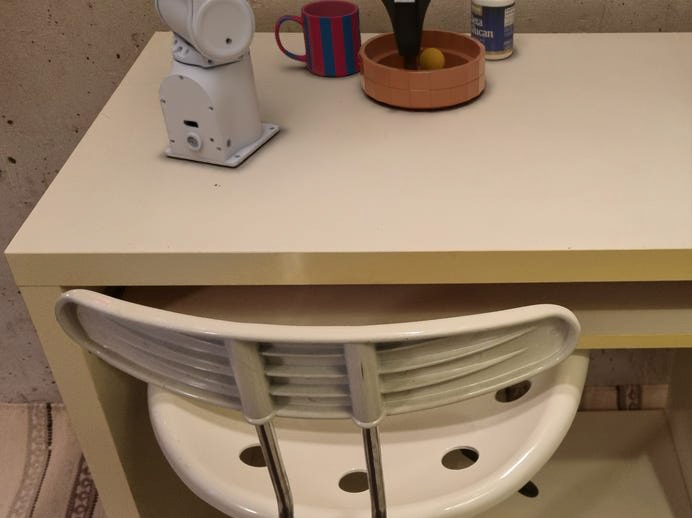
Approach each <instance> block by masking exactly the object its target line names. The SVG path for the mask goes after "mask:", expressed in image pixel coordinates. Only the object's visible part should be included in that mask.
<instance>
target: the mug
mask: <svg viewBox="0 0 692 518" xmlns="http://www.w3.org/2000/svg"><path fill="white" fill-rule="evenodd" d="M360 20H361V19H360V8H359V6H358V5H357V4H356V3H353V2H350V1H346V0H318V1H312V2H309V3H307V4H304V5H303V6H302V7H301V8H300V16H298V15H293V14H286V15H281V16H280V17H279V18H278V19H277V20H276V23H275V25H274V38H275V42H276V45H277V47H278V49H279V50H280V51H281V52H282V54H284V55H285V56H286V57H287V58H288V59H289V58H290V59H291V60H294V61H297V62H302V63H306V65H307V69H308V71H309V72H310V73H312V74H313V75H316V76H321V77H328V78H338V77H339V78H341V77H347V76H351V75H354V74H356V73H358V72H360V61H359V50H360V47H361V45H362V34H361V33H362V32H361V21H360ZM286 21H293V22H296V23H297V24H299V26H301V28H302V33H303V41H304V50H305V54H301V55H300V54H297V53H296V54H295V53H293V52H291V51H289V50H287V49H286V48H285V47H284V46H283V43H282V41H281V38H280V28H281V25H282V24H283V23H284V22H286Z"/></svg>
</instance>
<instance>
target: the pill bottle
mask: <svg viewBox="0 0 692 518" xmlns="http://www.w3.org/2000/svg"><path fill="white" fill-rule="evenodd" d="M515 9H516V0H470V36H471V37H473V38H475V39H477V40H479V41H480V42H481V43H482V44H483V45H484V46H485V60H491V61H493V60H495V61H496V60H503V59H506V58H508V57H510V56H511V55H512V54H513V50H514V31H515V11H516V10H515Z"/></svg>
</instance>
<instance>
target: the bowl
mask: <svg viewBox="0 0 692 518" xmlns="http://www.w3.org/2000/svg"><path fill="white" fill-rule="evenodd" d="M428 48H435V49H438V50H439V51H440V52H441V53H442V54H443V56H444V59H445V65H444V68H443V69H439V70H429V71H425V70H422V69H421V67H420V63H419V59H420V56H421V54H422V53H423V51H425V50H426V49H428ZM417 57H418V70H405V69H404V66H403V56H400V55H399V52H398V49H397V45H396V41H395V36H394V31H393V30H392V31H387V32H384V33H380V34H377V35H375V36H372V37H370V38H368V39H367V40H365V41H364V42H363V43H361V47H360V50H359V61H360V71H359V73H360V85H361V88H362V89H363V91H364V93H365V94H366V95H367V96H369V97H371V98H372V99H374V100H376V101H378V102H381V103H384V104H386V105H389V106H392V107H397V108H401V109H408V110H409V109H410V110H437V109H445V108H450V107H453V106H457V105H460V104H463V103H465V102H468V101H470V100H471V99H474V98H476V97H477V96H479V95H480V94H481V93H482V91H483V90H484V89H485V87H486V59H485V46H484V45H483V44H482V43H481V42H480V41H479V40H477V39H475V38H473V37H471V35H468V34H465V33H461V32H457V31H454V30H447V29H440V28H439V29H438V28H423V30H422V38H421V46H420V51H419V55H418V56H417Z"/></svg>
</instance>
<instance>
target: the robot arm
mask: <svg viewBox="0 0 692 518" xmlns="http://www.w3.org/2000/svg"><path fill="white" fill-rule="evenodd" d="M380 1H381V2H382V4H383V6H384V7H385V9H386V12H387V14H388V18H389V19H390V23H391V26H392V31H394V36H395V41H396V45H397V49H398V52H399V55H400V56H418V55H419V51H420V46H421V38H422V30H423V29H424V22H425V17H426V14H427V11H428V9H429V6H430V3H431V1H432V0H380ZM154 7H155V10H156V11H155V12H156V13H157V16H158V17H159V19H160V21H161V22H162V24H163V25H164V26H165V27H166V28H167V29H169V30H170V31H172V35H173V36H172V39H171V40H172V41H171V47H170V50H171V54H172V55H171V56H172V65H171V68H170V71H169V72H168V73H167V75H166V76H165V77H164V78H163V79H162V81H161V82H160V87H159V90H158V97H159V103H160V107H161V112H162V115H163V119H164V125H165V127H166V132H167V137H168V140H169V144H170V146H168V147H166V149H165V150H164V154H165V156H168V157H173V158H178V159H185V160H190V161H196V162H201V163H202V162H203V163H207V164H214V165H220V166H225V167H231V168H232V167H233V168H234V167H236V166H238V165H240V164H241V163H242V162H243V161H244V160H245V159H247V158H248V157H249V156H251V155H252V154H253V153H254V152H255V151H257V149H258V148H260V147H261V146H262V145H263V144H265V143H266V142H267V141H269V139H271V138H272V137H273V136H274V135H275V134H277V133H278V132H279V131H280V126H279V125H278V124H274V123H267V122H262V118H261V117H262V116H261V112H260V104H259V100H258V99H259V98H258V92H257V87H256V86H257V85H256V80H255V73H254V68H253V67H254V66H253V62H252V61H253V60H252V54H251V50H250V47H251V45H252V43H253V41H254V38H255V33H256V20H255V14H254V11H253V9H252V7H251V5H250V3H248V1H247V0H154Z"/></svg>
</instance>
